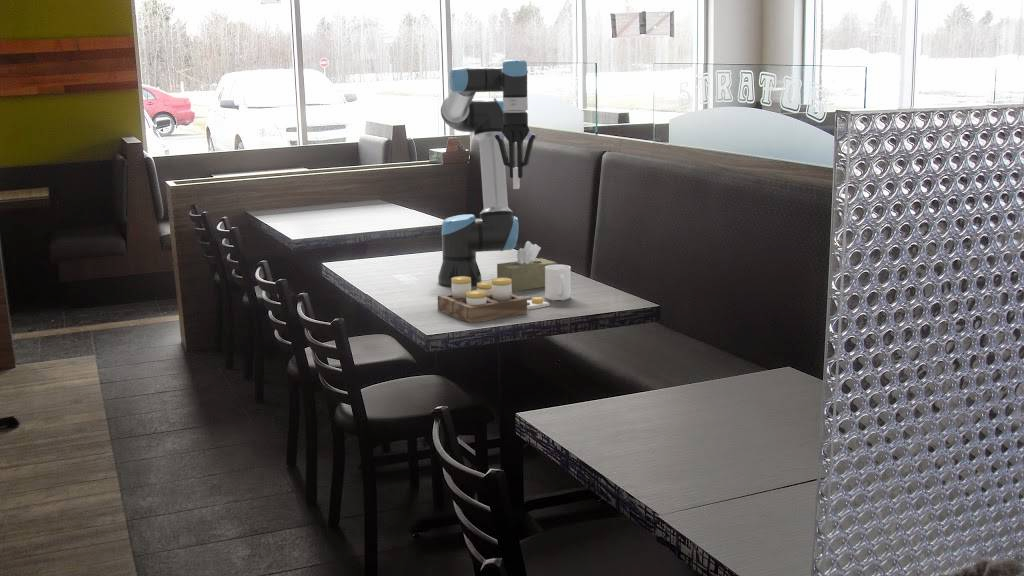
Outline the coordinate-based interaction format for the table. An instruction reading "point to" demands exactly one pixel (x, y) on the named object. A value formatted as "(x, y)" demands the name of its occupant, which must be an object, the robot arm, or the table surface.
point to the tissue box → (525, 269)
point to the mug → (557, 282)
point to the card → (535, 302)
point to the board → (482, 308)
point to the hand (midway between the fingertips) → (516, 188)
